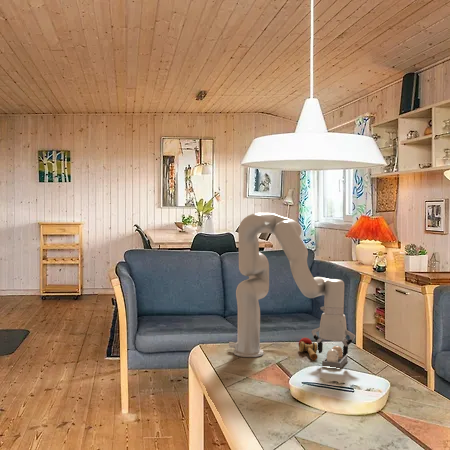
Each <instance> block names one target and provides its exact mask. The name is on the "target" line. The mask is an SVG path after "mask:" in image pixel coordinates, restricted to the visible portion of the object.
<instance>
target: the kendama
mask: <svg viewBox="0 0 450 450" xmlns="http://www.w3.org/2000/svg"><path fill="white" fill-rule="evenodd" d="M298 350H299V352H300V353H304V351H307V353H308V355H309V358H310V360H312V361H317V360H318V358H319V357H318V354H317V352H318V343H317V342H313V341H312V340H311V338H309V337H301V339H300V340H299V341H298Z"/></svg>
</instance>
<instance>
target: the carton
mask: <svg viewBox="0 0 450 450" xmlns="http://www.w3.org/2000/svg"><path fill="white" fill-rule="evenodd" d="M331 349H335V350H336V351H337V352H338V362H329V361H327V356H325V358H324V359H323V360H322V361H321V363H322V364H321V367H322V366H330V367H336V368H341V369H342V368H343V367H344V366H345V365H346V364H347V362H348V354H346V356H343V347H341V346H339V345H335V346H333V347H332V348H331Z"/></svg>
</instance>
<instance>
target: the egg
mask: <svg viewBox="0 0 450 450" xmlns="http://www.w3.org/2000/svg"><path fill="white" fill-rule="evenodd" d="M326 357H327V361H329V362H338V352H337V351H336V350H335V349H332V348H331V349H329V350H328V351H327V353H326Z"/></svg>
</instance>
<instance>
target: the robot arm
mask: <svg viewBox="0 0 450 450" xmlns="http://www.w3.org/2000/svg"><path fill="white" fill-rule="evenodd" d="M237 233H238V235H237V237H238V269H239V272H240V274H241V275H242V276H245V277H248V278H247V279H245V280H242V281H241V282H239V283H238V284H237V287H236V290H235V297H236V304H237V335H236V336H237V338H236V339H237V341H236V342H234V341H233V342H232V341H229V342H228V347H229V348H234V350H233V354H234V355H235V356H237V357H242V358H257V357H261V356H263V355H264V350H263V349H261V345H260V344H261V307H260V303H259V300H261V299H264V298H265V297H266V296H267V295H268V293H269V290H270V263H269V260H268V258H267V256H266V255H265V254H264V253H262V252H260V242H259V239H258V235H260V234H267V233H268V234H272V235H274V236H275V238H276V239H277V242H278V243H279V245H280V246H281V248H282V250H283V252H284V254H285V256H286V257H287V259H288V262H289V267H290V272H291V274H292V278H293V280H294V282H295V284H296V285H297V288H298V289H299V291H300V292H301V294H302V295H303V296H304V297H306V298H309V299H315V298H317V297H320V296H321V297H322V296H324V301H323V302H324V305H323V306H320V311H323V313H322V314H321V317H320V322H319V327H317V328H315V329H312V330H311V332H310V333H311V335H312V337H313V339H314V340H315V341H316V343H317V351H318V354H321V353H323V348H324V347H323V346H324V344H323V343H324V342H323V341H324V340H326V341H333V342H342V344H343V347H342V350H343V356H346V355H348V353H349V345H351V343H353V341H354V340H355V338H356V335H355V334H354V333H352V332H351V331H349V330H348V329H347V319H346V315H345V314H344V308H345V303H344V302H345V282H344V281H343V280H342V279H340V278H339V279H338V278H326V277H322V276H315V277H314V276H313V274H312V273H311V270H310V268H309V265H308V256H309V255H308V254H309V250H308V248H307V247H306V245H305V243H304V242H303V240H302V238H301V235H302V227H301V225H300V223H299V222H297V221H296V220H294V219H291V218H288V217H286V216H285V217H284V216H281V215H278V214H276V213H272V212H254V213H251V214H249V215H246V216H245V217H244V218H243V219H242V220H241V221H240V223H239V226H238V230H237ZM317 333H318V334H317ZM347 336H349V337H350V338H349V339H347Z"/></svg>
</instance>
